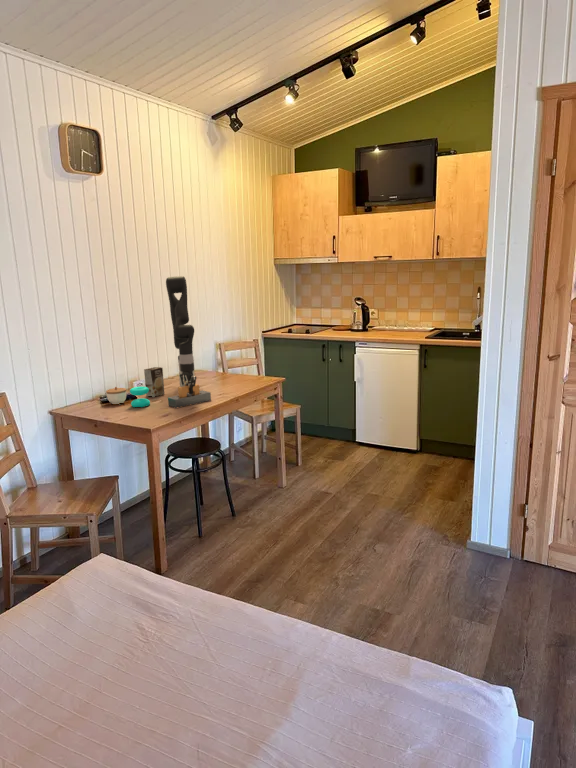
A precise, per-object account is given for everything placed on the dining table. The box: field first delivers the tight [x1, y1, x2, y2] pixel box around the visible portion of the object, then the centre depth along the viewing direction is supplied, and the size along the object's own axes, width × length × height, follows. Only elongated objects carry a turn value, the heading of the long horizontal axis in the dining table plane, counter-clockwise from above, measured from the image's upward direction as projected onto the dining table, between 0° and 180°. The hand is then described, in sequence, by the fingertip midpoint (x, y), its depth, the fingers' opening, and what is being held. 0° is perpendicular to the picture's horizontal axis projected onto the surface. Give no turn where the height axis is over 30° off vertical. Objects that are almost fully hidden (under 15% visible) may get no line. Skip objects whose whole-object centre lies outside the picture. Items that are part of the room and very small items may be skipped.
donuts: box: [129, 385, 151, 408], centre depth 291 cm, size 10×10×10 cm
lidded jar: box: [105, 386, 127, 405], centre depth 299 cm, size 11×11×9 cm
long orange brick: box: [177, 383, 200, 398], centre depth 293 cm, size 4×11×8 cm, turn 132°
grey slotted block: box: [167, 389, 212, 409], centre depth 294 cm, size 8×22×4 cm, turn 132°
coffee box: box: [143, 366, 165, 398], centre depth 315 cm, size 9×6×16 cm
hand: (189, 393), depth 293 cm, fingers closed on long orange brick, 3 cm apart
